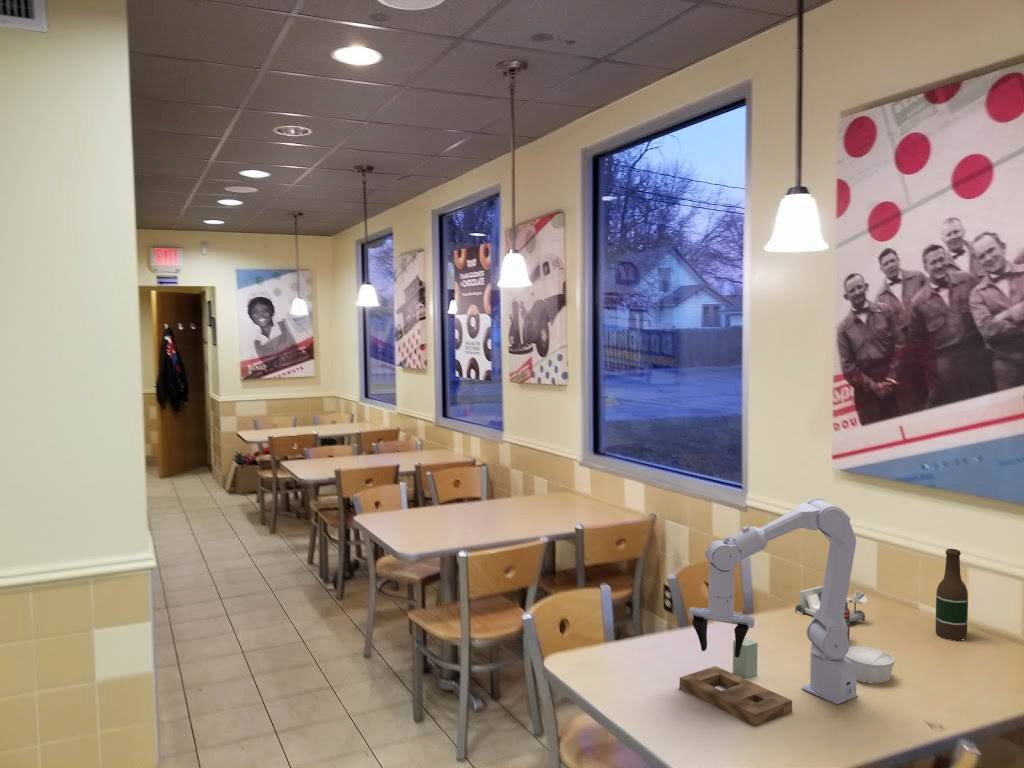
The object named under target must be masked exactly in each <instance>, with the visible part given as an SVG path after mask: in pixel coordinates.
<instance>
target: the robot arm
mask: <svg viewBox="0 0 1024 768" xmlns="http://www.w3.org/2000/svg"><path fill="white" fill-rule="evenodd" d="M741 529H742V530H741V531H738V532H736V533H735V534H732V535H730V536H724V537H723V540H719V539H717V540H714V541H712V542H711V543H710V544H709V546H707V547H706V548H707V549H706V551H704V553H705V558H706V559H707V560H708V561H709V563H708V588H707V589H708V597H707V598H708V599H707V600H708V601H707V603H708V607H706V608H705V607H692V606H691V607H690V608H688V618H691V619H692V621H691V622H692V623H691V624H692V626H693V629H694V630H695V633H696V634H697V636H698V641H699V644H700V649H701V651H702V652H706V649H707V648H708V638H707V637H708V621H714V622H720V623H726V624H731V625H736V626H735V627H734V638H735V640H734V641H735V643H736V644H735V657H737V658H738V657H739V656H740V652H741V647H742V644H743V641H744V638H746V636H747V633H748V631H749V629H754V626H755V617H754V616H750V615H746V614H743V613H740V612H739V613H738V612H736V611H735V569H736V567H737V566H738V564H739V562H740V561H742V560H745V559H747V558H749V557H751V556H753V555H755V554H757V553H759V552H762V551H764V550H765V549H766V548H767V545H768V542H769V541H772V540H775V539H777V538H780V537H781V536H784V535H787V534H789V533H792V532H794V531H795V530H796V531H797V530H798V529H805V530H810V531H820V532H821V533H822V535H823V536H824V537H825V538H826V539H827V540H828V542H829V548H828V553H827V554H828V555H827V560H826V566H825V571H824V579H823V583H822V584H823V585H822V586H823V589H822V595H821V601H820V607H819V609H818V610H817V611H816V612H815V613H814V615H812V620H811V621H810V623H808V625H807V628H806V636H807V638H808V640H809V641H810V642H811V647H810V667H809V668H810V671H809V673H810V674H809V675H810V677H809V679H810V680H809V682H810V683H809V684H805V685H804V686H801V689H802V690H804V691H806V692H808V693H810V694H813V695H816V696H817V697H818V698H821V699H824V700H827V701H829V702H830V703H834V704H836V705H839V704H841V703H844V702H846V701H849V700H851V699H854V698H856V696H857V697H858V696H859V693H857V680H856V673H857V672H856V667H855V665H854V663H852V662H850V661H849V660H847V659H846V657H845V655H846V654H847V653H848V651H849V647H851V646H850V645H851V644H850V639H849V640H848V636H847V634H848V627H847V624H846V621H845V618H844V612H845V606H846V600H847V598H848V594H849V590H850V589H849V587H850V582H851V576H852V569H853V563H854V557H855V552H856V547H857V538H856V535H855V532H854V530H853V527H852V525H851V517H850V516H849V515H848V514H847V513H846V512H845V511H844V510H843V509H842V508H841V507H839V506H836V505H833V504H831V503H830V502H827V501H825V500H824V499H822V498H813V499H811V500H809V501H807V502H803V503H800V504H799V505H798V506H796V508H794V509H792V510H790V511H788V512H786V513H785V514H783V515H782V516H779V517H778V518H776V519H773V521H770V522H769V523H766V524H765V525H763V526H761V527H757V526H754V525H751V526H748V525H745V526H743V527H742V528H741Z"/></svg>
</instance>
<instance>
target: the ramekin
mask: <svg viewBox="0 0 1024 768" xmlns="http://www.w3.org/2000/svg"><path fill="white" fill-rule="evenodd" d="M845 657H846V659H847V660H849V661H850V662H852V663H854V665H855V667H856V672H857V673H856V679H858V680H861V681H865V682H871V683H881V684H884V683H883V682H885V683H887V682H888V681H889V680H890V679H891V676H892V671H893V667H894V666H895V658H894V656H892V655H891V654H890V653H888V652H885V651H884V650H881V649H877V648H873V647H868V646H850V647H849V651H848V653H847V654H846V655H845ZM858 680H857V681H858ZM861 681H860V682H861ZM886 681H887V682H886ZM865 682H864V683H865ZM871 683H870V684H871Z"/></svg>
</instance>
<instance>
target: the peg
mask: <svg viewBox="0 0 1024 768" xmlns="http://www.w3.org/2000/svg"><path fill="white" fill-rule="evenodd" d="M735 644H736V643H735V640H733V642H732V649H733V650H732V674H734V675H737V676H739V677H741V678H743V679H746V680H747V679H750V678H753V677H755V676H758V642H756V641H754V640H751V639H749V638H747V637H745V638H744V641H743V644H742V647H741V652H740V656H739V657H738V658H737V657H735Z"/></svg>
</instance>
